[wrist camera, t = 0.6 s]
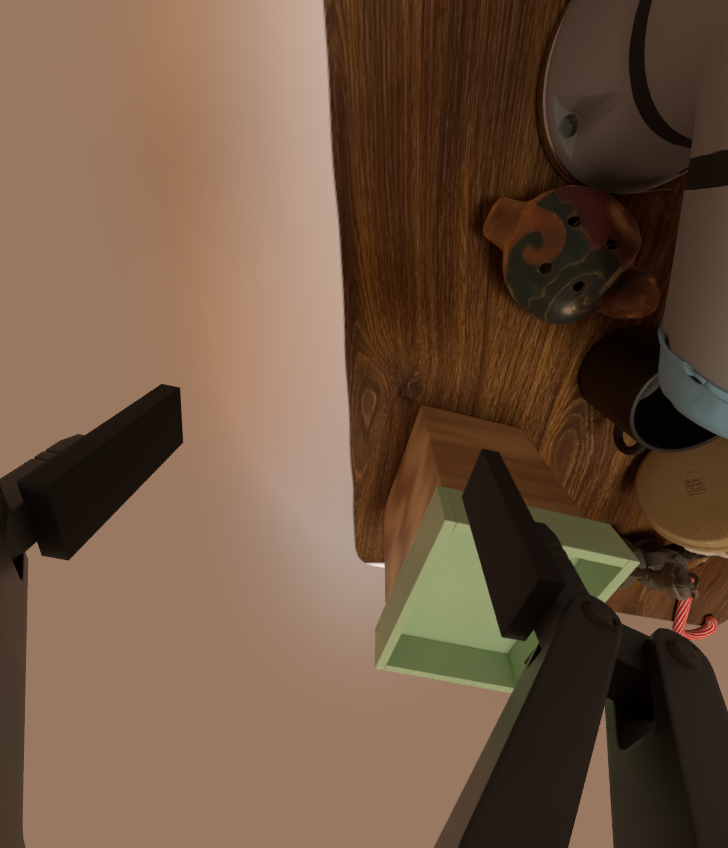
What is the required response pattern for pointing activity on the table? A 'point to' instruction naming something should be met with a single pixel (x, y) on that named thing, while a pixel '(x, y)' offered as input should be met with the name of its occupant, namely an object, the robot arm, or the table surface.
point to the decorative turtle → (572, 256)
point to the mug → (637, 394)
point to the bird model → (691, 557)
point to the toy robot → (662, 571)
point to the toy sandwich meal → (687, 495)
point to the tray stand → (459, 474)
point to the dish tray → (476, 597)
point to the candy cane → (681, 620)
